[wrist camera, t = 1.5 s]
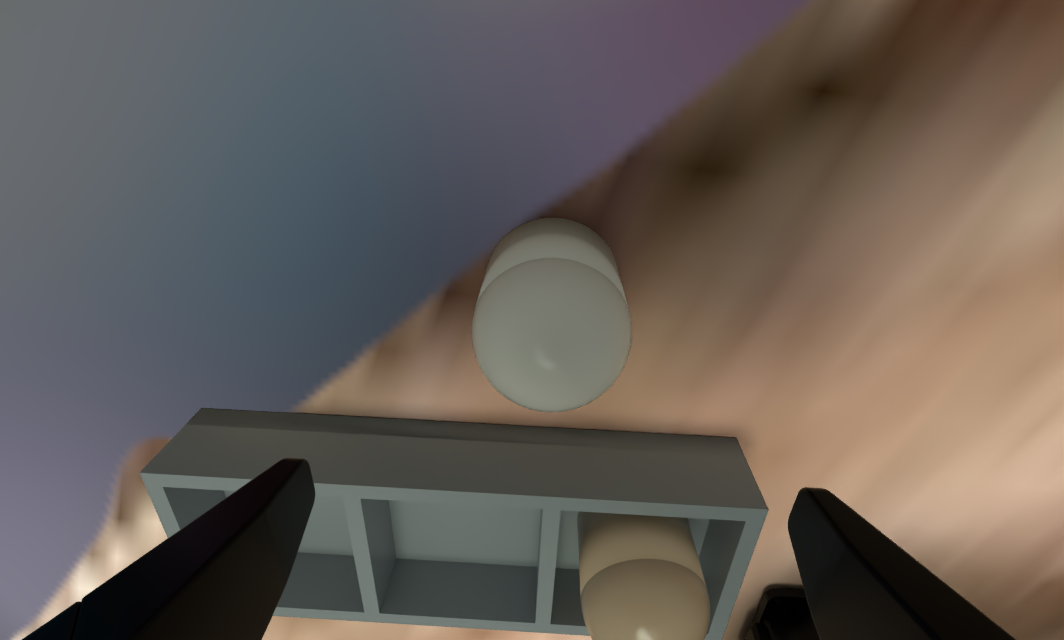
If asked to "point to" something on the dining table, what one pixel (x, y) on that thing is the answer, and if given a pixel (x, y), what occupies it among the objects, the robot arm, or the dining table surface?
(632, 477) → the grey long rectangular tray
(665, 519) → the brown egg
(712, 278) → the dining table surface
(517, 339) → the cream egg
